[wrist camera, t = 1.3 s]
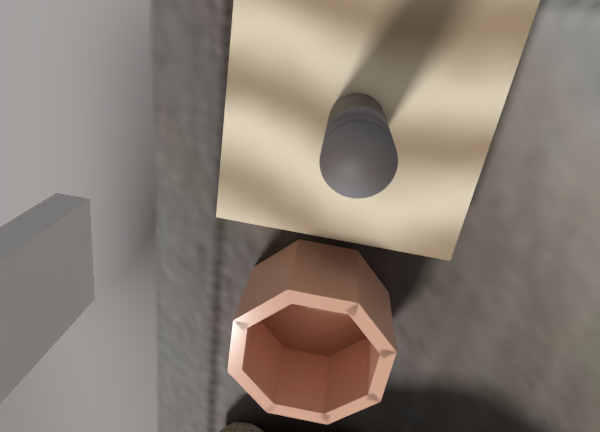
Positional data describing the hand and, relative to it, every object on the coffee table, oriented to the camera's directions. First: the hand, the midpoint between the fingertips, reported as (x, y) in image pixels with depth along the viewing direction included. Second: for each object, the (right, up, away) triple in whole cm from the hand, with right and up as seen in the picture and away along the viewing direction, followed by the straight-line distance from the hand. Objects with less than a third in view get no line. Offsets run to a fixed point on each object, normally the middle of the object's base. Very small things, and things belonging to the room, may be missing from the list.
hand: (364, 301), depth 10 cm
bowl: (0, -5, +27) cm, 27 cm away
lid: (+2, +9, +19) cm, 21 cm away
